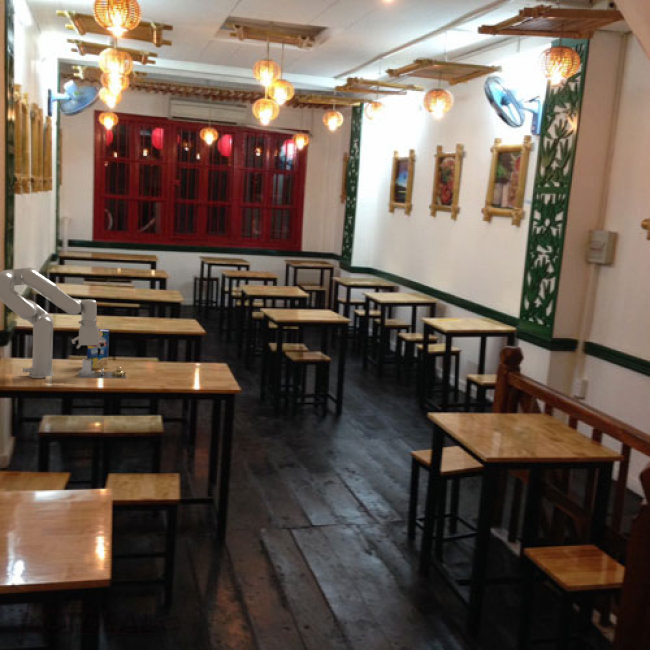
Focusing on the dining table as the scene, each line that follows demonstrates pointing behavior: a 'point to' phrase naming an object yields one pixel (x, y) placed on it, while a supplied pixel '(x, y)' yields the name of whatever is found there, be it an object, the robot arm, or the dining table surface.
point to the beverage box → (92, 351)
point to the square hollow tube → (86, 368)
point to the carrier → (107, 374)
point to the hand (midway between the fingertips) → (88, 355)
